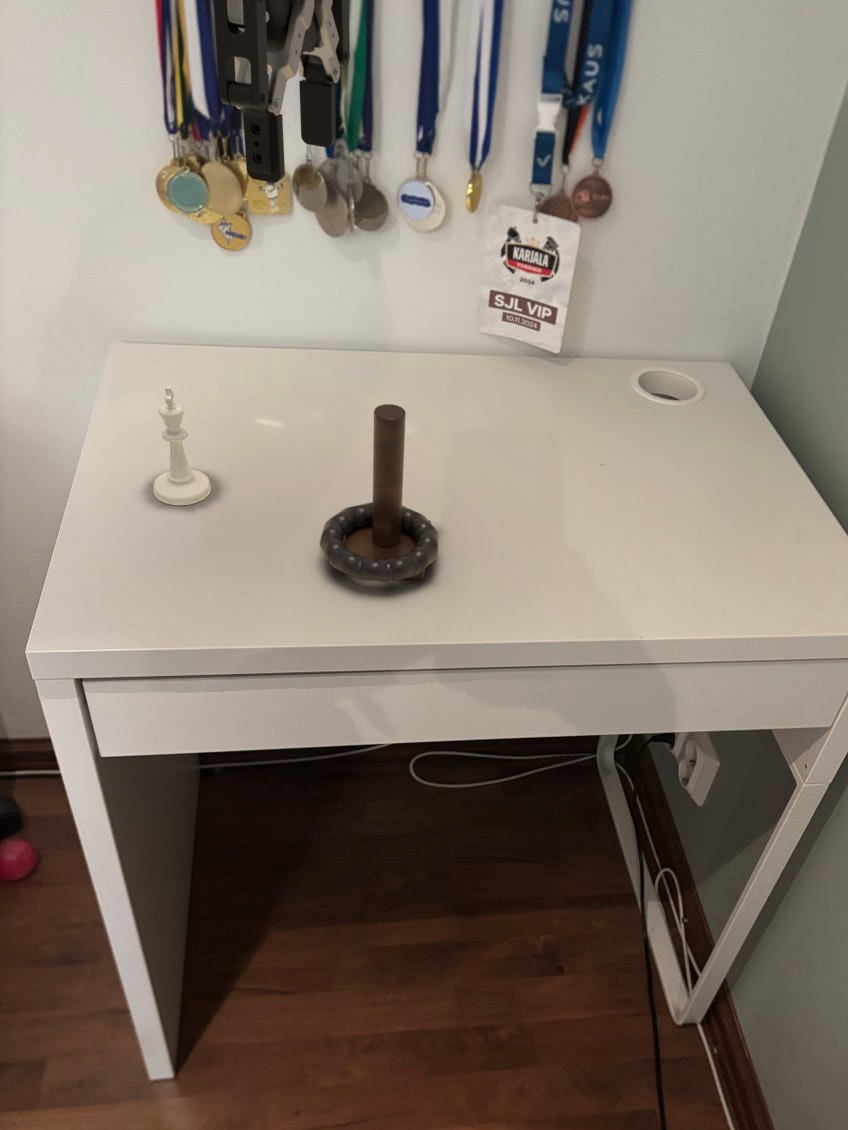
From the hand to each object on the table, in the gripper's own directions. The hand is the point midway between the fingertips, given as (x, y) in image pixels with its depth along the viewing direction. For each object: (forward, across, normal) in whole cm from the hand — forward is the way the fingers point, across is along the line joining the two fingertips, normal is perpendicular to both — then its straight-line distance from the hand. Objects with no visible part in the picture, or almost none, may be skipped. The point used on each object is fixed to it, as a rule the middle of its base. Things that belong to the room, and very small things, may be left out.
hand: (293, 161), depth 62 cm
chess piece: (+30, -3, -13) cm, 33 cm away
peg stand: (+30, -1, +7) cm, 31 cm away
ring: (+28, +1, +7) cm, 29 cm away
